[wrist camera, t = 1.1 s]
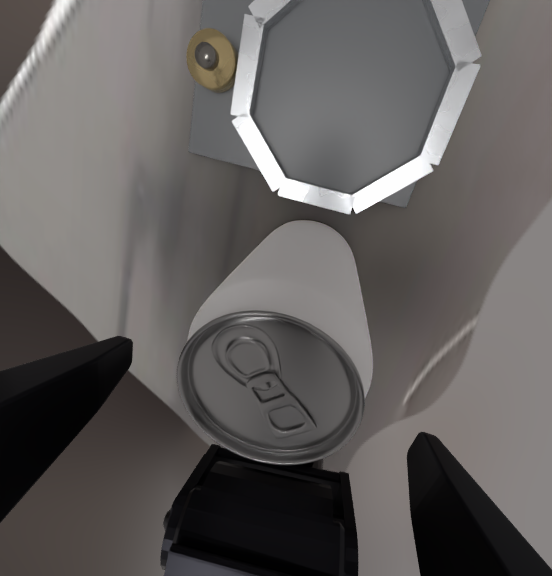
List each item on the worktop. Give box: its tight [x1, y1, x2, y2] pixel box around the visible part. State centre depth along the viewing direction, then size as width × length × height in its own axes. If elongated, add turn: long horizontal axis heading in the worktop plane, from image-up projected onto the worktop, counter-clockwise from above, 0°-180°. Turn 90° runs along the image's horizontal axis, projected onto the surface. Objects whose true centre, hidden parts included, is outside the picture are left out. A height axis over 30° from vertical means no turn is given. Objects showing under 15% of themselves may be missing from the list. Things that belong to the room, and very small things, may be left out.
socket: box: [231, 0, 481, 215], centre depth 15 cm, size 11×11×1 cm
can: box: [177, 220, 373, 465], centre depth 14 cm, size 6×6×12 cm
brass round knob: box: [187, 28, 239, 93], centre depth 15 cm, size 2×2×2 cm
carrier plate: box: [189, 0, 490, 208], centre depth 15 cm, size 10×13×1 cm
